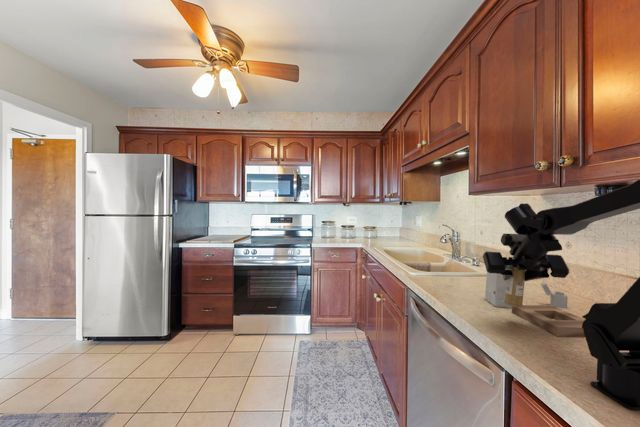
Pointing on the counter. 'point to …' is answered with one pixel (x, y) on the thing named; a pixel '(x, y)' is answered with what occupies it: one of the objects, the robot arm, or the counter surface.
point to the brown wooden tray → (543, 317)
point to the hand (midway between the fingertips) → (513, 279)
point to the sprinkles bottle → (515, 288)
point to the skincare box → (496, 290)
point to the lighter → (555, 297)
